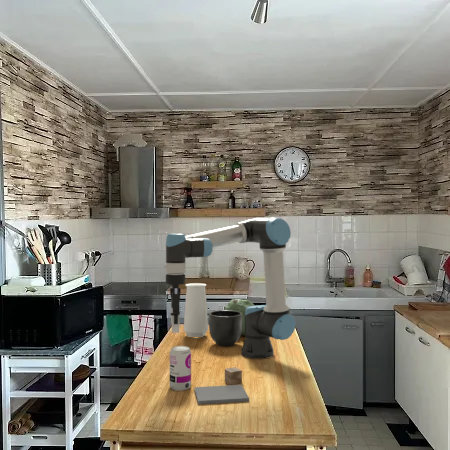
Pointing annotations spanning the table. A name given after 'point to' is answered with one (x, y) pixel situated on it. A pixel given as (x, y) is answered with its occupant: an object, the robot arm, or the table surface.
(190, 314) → the vase
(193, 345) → the table surface
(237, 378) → the walnut block
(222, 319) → the planter
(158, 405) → the table surface
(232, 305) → the cabbage
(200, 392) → the slate board
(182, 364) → the supplement can
